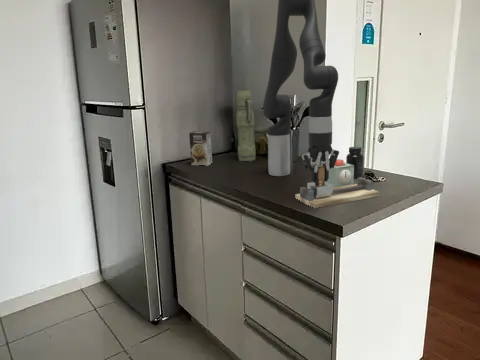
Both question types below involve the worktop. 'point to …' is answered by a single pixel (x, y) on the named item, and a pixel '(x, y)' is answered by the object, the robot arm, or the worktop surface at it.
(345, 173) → the button box
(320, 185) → the carriage
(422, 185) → the worktop surface
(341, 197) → the rail track
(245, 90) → the thermos
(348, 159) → the supplement bottle
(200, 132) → the coffee box
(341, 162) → the button
